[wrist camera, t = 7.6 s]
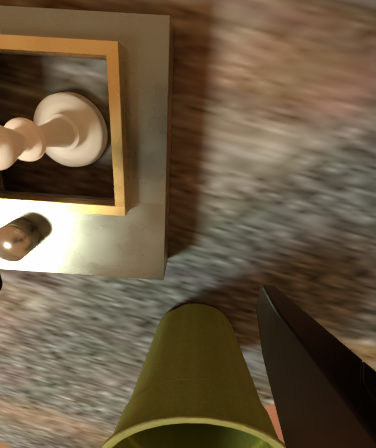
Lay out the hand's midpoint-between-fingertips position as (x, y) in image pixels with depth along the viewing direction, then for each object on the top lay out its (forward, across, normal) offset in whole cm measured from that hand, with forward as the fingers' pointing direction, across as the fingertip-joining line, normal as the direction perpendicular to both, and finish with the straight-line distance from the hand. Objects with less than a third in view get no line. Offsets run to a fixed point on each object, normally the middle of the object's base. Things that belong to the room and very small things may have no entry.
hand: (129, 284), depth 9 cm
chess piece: (+12, +7, -4) cm, 14 cm away
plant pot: (+12, -3, +14) cm, 19 cm away
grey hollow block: (+12, +7, -2) cm, 14 cm away
